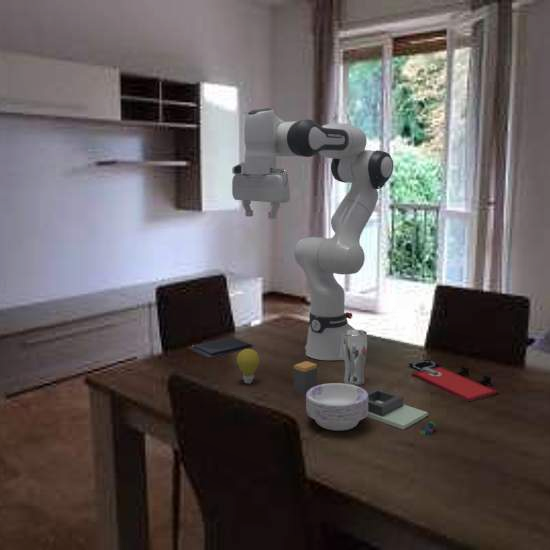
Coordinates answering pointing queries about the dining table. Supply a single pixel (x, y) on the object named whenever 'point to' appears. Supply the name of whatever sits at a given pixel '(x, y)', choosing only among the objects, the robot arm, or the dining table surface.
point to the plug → (304, 377)
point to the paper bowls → (337, 405)
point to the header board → (392, 409)
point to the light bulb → (248, 363)
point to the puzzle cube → (428, 428)
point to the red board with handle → (452, 380)
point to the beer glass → (354, 355)
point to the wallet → (219, 347)
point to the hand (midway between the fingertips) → (260, 217)
